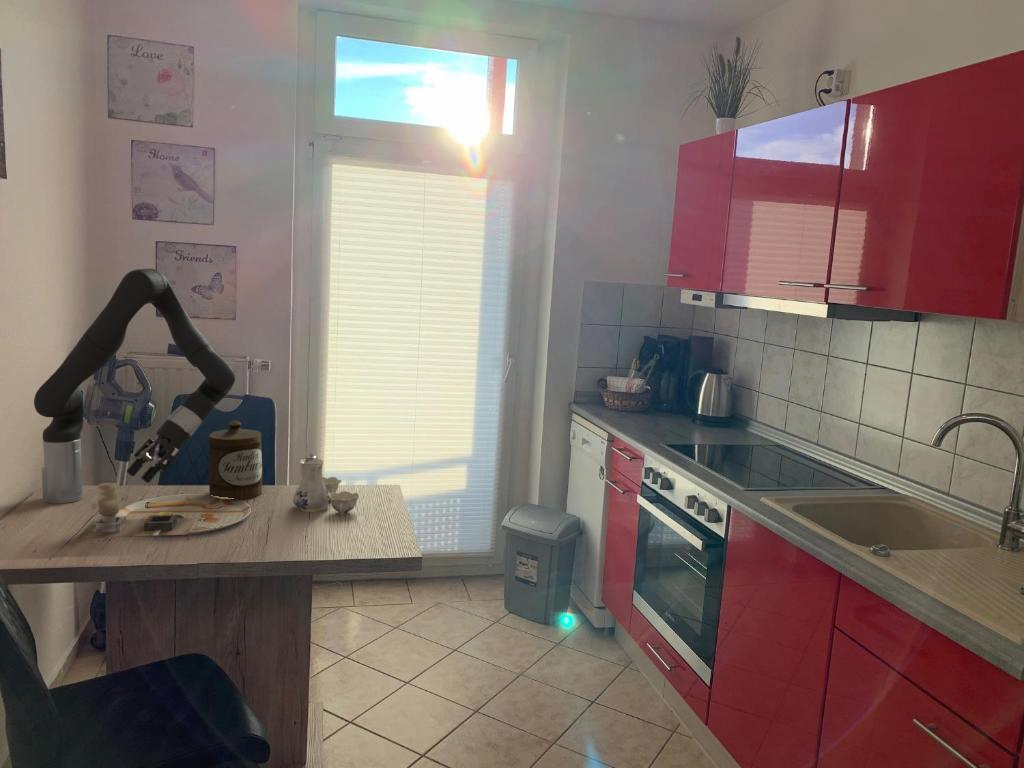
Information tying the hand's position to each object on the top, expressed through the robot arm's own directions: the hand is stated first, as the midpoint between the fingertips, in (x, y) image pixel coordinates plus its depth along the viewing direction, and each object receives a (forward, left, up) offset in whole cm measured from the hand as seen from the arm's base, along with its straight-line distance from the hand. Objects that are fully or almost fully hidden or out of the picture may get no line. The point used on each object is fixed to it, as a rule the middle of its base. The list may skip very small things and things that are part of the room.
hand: (136, 477), depth 206 cm
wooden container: (+20, +31, -13) cm, 39 cm away
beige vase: (-6, -4, -12) cm, 14 cm away
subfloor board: (+1, -4, -13) cm, 14 cm away
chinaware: (+45, +15, -14) cm, 50 cm away
